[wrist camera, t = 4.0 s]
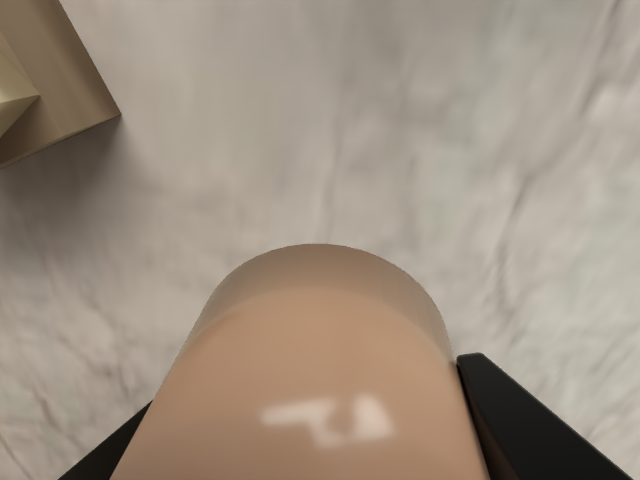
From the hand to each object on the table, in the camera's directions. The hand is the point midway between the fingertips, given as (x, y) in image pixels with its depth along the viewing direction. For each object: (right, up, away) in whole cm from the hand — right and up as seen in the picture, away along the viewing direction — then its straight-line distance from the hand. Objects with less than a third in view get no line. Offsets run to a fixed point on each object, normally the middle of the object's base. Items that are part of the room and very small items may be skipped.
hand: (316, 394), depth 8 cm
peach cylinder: (0, 0, +1) cm, 1 cm away
